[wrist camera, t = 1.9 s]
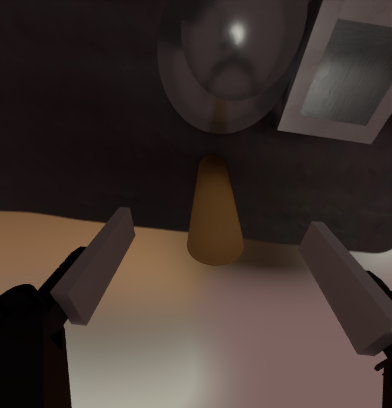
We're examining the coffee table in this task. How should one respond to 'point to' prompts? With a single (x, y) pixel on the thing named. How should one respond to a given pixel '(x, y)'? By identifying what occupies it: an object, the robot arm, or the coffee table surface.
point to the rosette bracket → (279, 65)
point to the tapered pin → (214, 216)
